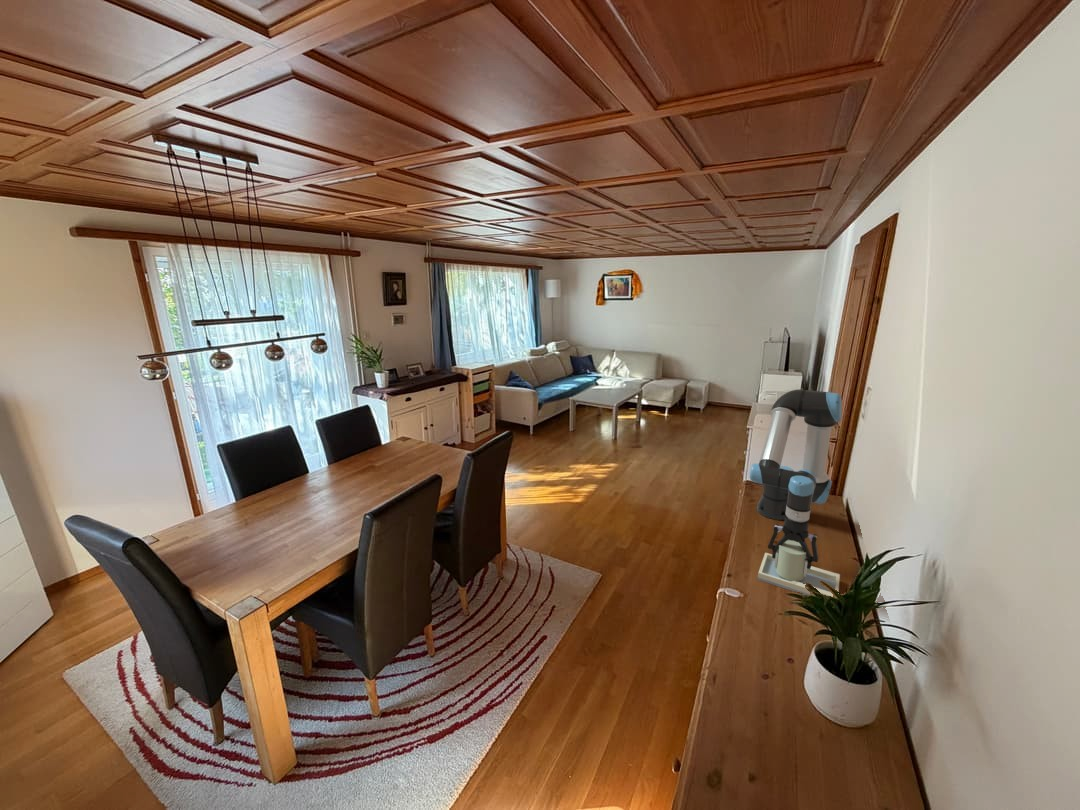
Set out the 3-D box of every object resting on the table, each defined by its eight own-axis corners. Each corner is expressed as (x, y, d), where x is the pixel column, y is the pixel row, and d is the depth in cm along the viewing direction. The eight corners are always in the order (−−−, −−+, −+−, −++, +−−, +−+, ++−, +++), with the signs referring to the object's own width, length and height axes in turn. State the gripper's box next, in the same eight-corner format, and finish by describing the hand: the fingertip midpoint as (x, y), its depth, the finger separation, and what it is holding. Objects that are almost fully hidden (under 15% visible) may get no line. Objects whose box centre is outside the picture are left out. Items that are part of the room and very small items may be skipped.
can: (807, 582, 155) (811, 554, 152) (780, 580, 157) (783, 552, 153) (798, 566, 163) (802, 539, 160) (772, 564, 165) (775, 538, 162)
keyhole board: (764, 558, 172) (765, 552, 171) (838, 581, 157) (839, 574, 157) (757, 579, 160) (758, 572, 160) (836, 605, 146) (838, 598, 145)
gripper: (762, 513, 157) (756, 565, 163) (831, 531, 144) (823, 586, 150) (766, 505, 163) (760, 555, 169) (833, 521, 150) (824, 574, 156)
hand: (790, 569), depth 160 cm, fingers closed on can, 9 cm apart
